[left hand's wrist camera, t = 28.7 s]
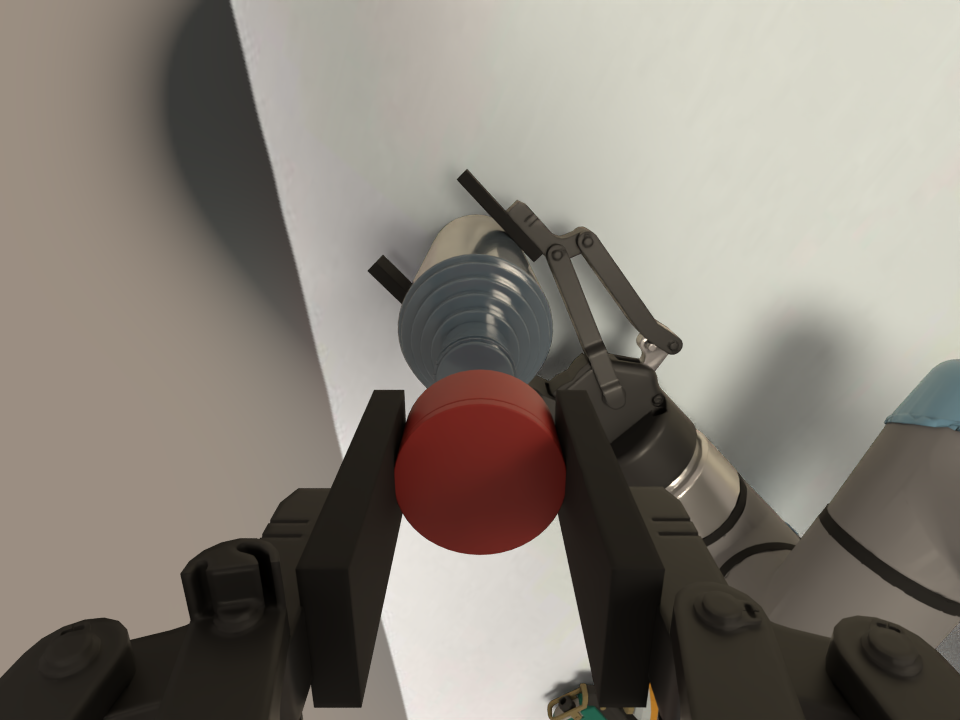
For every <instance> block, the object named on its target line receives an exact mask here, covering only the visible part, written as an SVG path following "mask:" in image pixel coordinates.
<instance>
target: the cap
mask: <svg viewBox="0 0 960 720" xmlns="http://www.w3.org/2000/svg"><path fill="white" fill-rule="evenodd" d="M394 476H395V493H396V500H397V503H398V505H399V507H400V509H401V511H402V513H403V515H404V516H405V518H406V519H407V521H408V522H409V523H410V524H411V525H412V527H413V528H414V529H415V530H416V531H417V532H419V533H420V534H421V535H422V536H424V537H425V538H426V539H428V540H429V541H431V542H433V543H435V544H436V545H438V546H441V547H443V548H446V549H448V550H451V551H455V552H459V553H465V554H473V555H487V554H496V553H502V552H505V551H509V550H512V549H515V548H517V547H520V546H522V545H524V544H526V543H528V542H529V541H531V540H533V539H534V538H535V537H537V536H538V535H539V534H541V533H542V532H543V531H544V530H545V529H546V528H547V527H548V526H549V525H550V523H551V522H552V521H553V520H554V518H555V517H556V515H557V514H558V512H559V510H560V508H561V506H562V503H563V501H564V497H565V482H566V464H565V460H564V457H563V453H562V449H561V446H560V442H559V438H558V435H557V431H556V427H555V424H554V420H553V417H552V414H551V412H550V410H549V408H548V406H547V405H546V403H545V402H544V400H543V399H542V398H541V396H540V395H539V394H538V393H537V392H536V391H535V390H534V389H533V388H531V387H530V386H529V385H528V384H526V383H524V382H523V381H521V380H520V379H518V378H515V377H513V376H511V375H508V374H505V373H502V372H497V371H492V370H468V371H463V372H458V373H455V374H452V375H449V376H447V377H445V378H443V379H441V380H439V381H437V382H436V383H434V384H433V385H431V386H430V387H429V388H428V389H426V390H425V391H424V392H423V393H422V394H421V396H420V397H419V398H418V399H417V401H416V402H415V403H414V405H413V407H412V409H411V411H410V413H409V415H408V418H407V421H406V424H405V428H404V432H403V436H402V439H401V443H400V447H399V450H398V454H397V458H396V461H395V466H394Z"/></svg>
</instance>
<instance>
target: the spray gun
mask: <svg viewBox="0 0 960 720" xmlns="http://www.w3.org/2000/svg"><path fill="white" fill-rule="evenodd" d="M581 692H582V694H581ZM579 693H580V694H579ZM576 694H578V698H577V696H576ZM557 703H559V706H558V707H557V708H556V709H555V711H554V714H553V717H552V707H553V706H554V705H555V704H557ZM547 711H548V717H549V719H550V720H657V715H658V706H657V703H656V700H655V697H654V694H653V691H652V688H651V684H649V691H648V699H647V706H646V708H599V705H598V700H597V696H596V691H595V686H594V685H587V686H586V684H585V683H581V684H580V688H578V689H576V690H574V691H571V692H569V693H567V694H565V695H563V696H561V697H558V698H556V699H554V700H552V701H551V702H550V703H549V704H548V708H547Z"/></svg>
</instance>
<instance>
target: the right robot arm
mask: <svg viewBox="0 0 960 720" xmlns="http://www.w3.org/2000/svg"><path fill="white" fill-rule="evenodd" d="M457 180H458V181H459V183H460V184H461V185H462V186H463V187H464V188H465V189H466V190H467V191H468V192H469V193H470V194H471V195H472V197H473V198H474V199H475V200H476V201H477V202H478V203H479V204H480V205H481V206H482V207H483V208H484V209H485V210H486V212H487V213H488V214H489V215H490V216H491V217H492V218H493V219H494V220H495V221H496V222H497V223H498V224H499V225H500V227H501V228H502V229H503V230H504V231H505V232H506V233H507V234H508V235H509V236H510V237H511V238H512V239H513V241H514V242H515V243H516V244H517V245H518V246H519V247H520V248H521V249H522V250H523V251H524V252H525V253H526V254H527V256H528V257H529V258H530V259H531V260H532V261H533V262H535V261H536V260H537V259H538V258H539V257H540V256H541V255H542V254H544V256H545V257H546V260H547V262H548V265H549V267H550V269H551V272H552V274H553V277H554V279H555V282H556V284H557V287H558V289H559V292H560V294H561V296H562V299H563V301H564V304H565V306H566V309H567V311H568V314H569V316H570V319H571V321H572V323H573V326H574V328H575V331H576V333H577V336H578V339H579V341H580V344H581V346H582V349H583V351H584V353H582V354H581V355H579V356H578V357H577V358H576V359H575V360H574V361H573V362H572V364H571V365H570V367H569V368H568V369H567V370H566V371H564V372H562V373H560V374H558V375H556V376H555V377H554V378H553V379H552V380H550V381H547V380H545V379H543V378H541V377H539V376H535V377H534V378H533V379H532V380H531V381H530V382H529V383H528V385H529V386H530V387H531V388H533V389H534V390H535V391H536V392H537V393H538V394H539V395H540V396H541V398H542V399H543V400H544V402H545V403H546V405H547V406H548V408H549V410H550V412H551V414H552V417H553V420H554V423H555V403H556V390H587V393H588V395H589V397H590V400H591V402H592V404H593V406H594V409H595V411H596V413H597V415H598V418H599V420H600V422H601V425H602V427H603V429H604V431H605V434H606V436H607V438H608V440H609V443H610V445H611V447H612V450H613V452H614V454H615V456H616V459H617V461H618V463H619V465H620V468H621V470H622V472H623V475H624V477H625V479H626V481H627V484H628V486H629V487H663V488H665V489H666V490H667V491H669V492H670V493H671V494H672V495H674V496H675V497H676V498H677V499H679V500H680V501H681V503H682V504H683V506H684V508H685V510H686V511H687V513H688V515H689V517H690V521H692V522H693V524H694V525H695V527H696V529H697V531H698V535H699V536H701V538H702V539H703V541H704V543H705V545H706V546H707V548H708V550H709V552H710V553H711V555H712V557H713V559H714V561H715V562H716V564H717V566H718V568H719V569H720V571H721V573H722V575H723V576H724V578H725V580H726V582H727V583H728V585H729V586H731V587H733V588H735V589H737V590H739V591H741V592H743V593H745V594H747V595H748V596H750V597H751V598H752V599H753V600H754V601H755V602H757V603H758V604H759V605H760V606H761V607H762V609H763V610H764V612H765V613H766V615H767V617H768V618H769V620H770V621H772V622H774V623H776V624H779V625H782V626H786V627H789V628H792V629H796V630H801V631H805V632H809V633H813V634H817V635H821V636H825V637H830V638H831V637H832V633H833V629H834V627H835V626H836V625H837V624H838V622H839V621H840V620H841V619H843V618H847V617H852V616H856V615H859V616H868V617H877V618H880V619H883V620H886V621H889V622H892V623H895V624H898V625H900V626H902V627H904V628H905V629H907V630H909V631H911V632H913V633H915V634H916V635H918V636H920V637H921V638H922V639H923V640H925V641H926V642H927V643H928V644H930V645H931V646H932V647H933V648H934V649H936V648H937V647H938V645H939V644H940V643H941V642H942V641H943V640H944V639H945V638H946V637H947V635H948V634H949V633H950V632H951V631H952V630H953V629H954V628H955V627H956V625H957V624H958V623H959V622H960V359H953V360H948V361H945V362H942V363H940V364H939V365H937V366H936V367H934V368H933V369H932V370H931V371H930V372H929V373H928V374H927V376H926V377H925V378H924V379H923V380H922V381H921V382H920V383H919V384H918V386H917V387H916V388H915V389H914V390H913V391H912V392H911V393H910V395H909V396H908V397H907V398H906V399H905V400H904V401H903V402H902V403H901V405H900V406H899V407H898V408H897V409H896V410H895V411H894V412H893V414H892V415H890V416H889V417H887V418H886V420H885V422H884V424H886V426H885V427H884V428H883V430H882V431H881V433H880V434H879V435H878V437H877V438H876V440H875V441H874V442H873V444H872V445H871V446H870V448H869V449H868V451H867V452H866V453H865V455H864V456H863V458H862V459H861V460H860V462H859V463H858V465H857V466H856V467H855V469H854V470H853V471H852V473H851V474H850V476H849V477H848V478H847V480H846V481H845V483H844V484H843V485H842V487H841V488H840V490H839V491H838V492H837V494H836V495H835V497H834V498H833V499H832V501H831V502H830V503H829V504H827V506H826V507H825V508H824V510H823V511H822V512H821V513H820V514H819V516H818V517H817V518H816V520H815V521H814V522H813V523H812V525H811V526H810V527H809V529H808V530H807V531H806V533H805V534H804V535H803V537H802V538H800V537H799V535H798V533H797V532H796V531H795V530H794V529H793V528H792V527H791V526H790V525H789V524H787V523H786V522H784V521H783V520H782V519H781V518H780V517H779V516H778V514H777V513H776V512H775V511H774V510H773V509H772V508H771V507H770V506H769V505H768V504H767V503H766V502H765V501H764V500H763V499H762V498H761V497H760V496H759V495H758V494H757V493H756V492H755V491H754V490H753V489H752V488H751V487H750V486H749V485H748V484H747V482H746V481H745V480H744V479H743V478H742V477H741V476H740V474H739V473H738V472H737V470H736V469H735V468H734V467H733V466H732V465H731V464H730V463H729V462H728V460H727V459H726V458H725V457H724V456H723V455H722V454H721V453H720V452H719V451H718V450H717V449H716V447H715V446H714V445H713V444H712V443H711V442H710V441H709V440H708V439H707V438H706V437H705V436H704V434H702V433H701V432H700V431H699V430H697V429H696V428H695V426H694V424H693V423H692V422H691V420H690V419H689V418H688V417H687V416H686V415H685V414H684V413H683V412H682V411H681V410H680V409H679V408H678V406H677V405H676V404H675V403H674V402H673V401H672V400H671V399H670V398H669V397H668V396H667V395H666V393H665V392H664V391H663V390H662V389H661V388H660V387H659V384H658V380H657V375H656V373H655V370H656V369H657V368H658V367H659V365H660V364H661V363H662V361H663V360H664V359H665V358H666V356H667V355H668V354H670V355H673V354H677V353H678V352H679V351H681V349H682V346H683V343H682V340H681V339H680V338H679V337H678V336H677V335H675V334H674V333H673V332H672V331H671V330H670V329H669V328H668V327H666V326H665V325H663V324H662V323H660V322H659V321H657V320H655V319H654V318H653V316H652V315H651V313H650V312H649V310H648V309H647V308H646V306H645V305H644V303H643V302H642V300H641V299H640V298H639V296H638V295H637V293H636V292H635V290H634V289H633V287H632V286H631V285H630V283H629V282H628V280H627V279H626V277H625V276H624V275H623V273H622V272H621V270H620V269H619V267H618V266H617V265H616V263H615V262H614V260H613V259H612V257H611V256H610V254H609V253H608V252H607V250H606V249H605V247H604V246H603V244H602V243H601V242H600V240H599V239H598V237H597V236H596V235H595V234H594V233H593V232H592V231H590V230H588V229H587V228H585V227H578V228H576V229H575V230H574V231H572V232H569V233H567V234H565V235H561V236H558V235H554V234H552V233H551V232H550V231H549V229H548V228H547V227H546V226H545V225H544V224H543V223H542V222H541V221H540V219H539V218H538V217H537V216H536V215H535V214H534V213H533V212H532V211H531V210H530V208H529V207H528V206H527V205H526V204H525V203H523V202H520V201H518V200H516V201H515V202H514V203H513V204H512V205H511V206H510V207H509V208H508V209H507V210H506V211H505V210H504V209H503V207H502V206H501V205H500V204H499V203H498V202H497V201H496V200H495V199H494V198H493V197H492V196H491V194H490V193H489V192H488V191H487V190H486V189H485V188H484V187H483V186H482V185H481V184H480V182H479V181H478V180H477V179H476V178H475V177H474V176H473V175H472V174H471V173H470V172H469V171H468V169H467V170H466V171H465V172H464V173H463V174H462V175H461V176H460V177H459V178H458V179H457ZM579 254H582V256H583V257H584V258H585V260H586V261H587V263H588V264H589V266H590V267H591V268H592V270H593V271H594V273H595V274H596V275H597V277H598V278H599V280H600V281H601V282H602V284H603V285H604V287H605V288H606V289H607V291H608V292H609V294H610V295H611V296H612V298H613V299H614V301H615V302H616V303H617V305H618V306H619V308H620V309H621V310H622V312H623V313H624V315H625V316H626V317H627V319H628V320H629V321H630V323H631V324H632V325H633V326H634V327H635V328H636V329H637V330H638V331H639V335H638V336H637V339H636V343H637V345H638V346H639V347H640V349H641V351H642V354H641V357H640V359H637V358H631V357H626V356H620V355H614V354H608V352H607V350H606V347H605V345H604V343H603V341H602V339H601V336H600V334H599V331H598V329H597V326H596V323H595V321H594V318H593V316H592V313H591V311H590V308H589V306H588V303H587V301H586V298H585V295H584V293H583V290H582V288H581V285H580V283H579V280H578V278H577V275H576V273H575V270H574V268H573V265H572V262H571V260H570V258H572V257H574V256H576V255H579ZM368 272H369V273H370V274H371V275H372V276H373V277H374V278H375V279H376V280H377V281H378V282H380V283H381V284H382V285H383V286H384V287H385V288H386V289H387V290H388V291H389V292H390V293H391V294H392V295H393V296H394V297H395V298H396V299H397V300H398V301H399V302H400V303H401V304H402V303H403V301H404V298H405V296H406V294H407V292H408V290H409V288H410V286H411V284H412V283H411V282H410V281H409V280H408V279H407V278H406V277H405V276H404V275H403V274H402V273H401V272H400V271H399V270H398V269H397V268H396V267H395V266H394V265H393V264H392V263H391V262H390V261H389V260H388V259H387V258H386V257H385V256H384V255H382V256H381V257H380V258H379V259H378V260H377V262H376V263H375V264H374V265H373V266H372V267H371V268H370V269H369V270H368ZM584 354H585V355H584ZM425 387H426V386H425ZM426 388H427V387H426ZM427 389H428V388H427Z"/></svg>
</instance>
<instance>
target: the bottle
mask: <svg viewBox="0 0 960 720" xmlns="http://www.w3.org/2000/svg"><path fill="white" fill-rule="evenodd" d="M552 334H553V321H552V315H551V310H550V307H549V304H548V301H547V299H546V297H545V295H544V293H543V291H542V289H541V287H540V284H539V282H538V280H537V278H536V276H535V274H534V272H533V270H532V268H531V266H530V264H529V262H528V260H527V258H526V256H525V254H524V252H523V250H522V249H521V248H520V247H519V246H518V245H517V244H516V243H515V242H514V241H513V239H512V238H511V237H510V236H509V235H508V234H507V233H506V232H505V231H504V230H503V229H502V228H501V227H500V225H499V224H498V223H497V222H496V221H495V220H494V219H493V218H492V217H490V216H486V215H477V214H475V215H467V216H462V217H460V218H457V219H455V220H453V221H451V222H450V223H448V224H447V225H446V226H445V227H444V228H443V229H442V230H441V231H440V232H439V233H438V235H437V236H436V238H435V240H434V242H433V244H432V246H431V247H430V249H429V251H428V253H427V255H426V257H425V259H424V261H423V263H422V265H421V267H420V269H419V271H418V273H417V275H416V277H415V278H414V280H413V282H412V284H411V286H410V288H409V290H408V292H407V294H406V296H405V298H404V301H403V303H402V306H401V310H400V313H399V320H398V336H399V343H400V346H401V350H402V353H403V355H404V358H405V360H406V362H407V364H408V365H409V367H410V369H411V370H412V371H413V373H414V374H415V376H416V377H417V378H418V379H419V380H420V381H421V382H422V383H423V384H424V385H425V386H426V387H427V388H429V387H430V386H431V385H433V384H434V383H436V382H437V381H439V380H441V379H443V378H445V377H447V376H449V375H452V374H455V373H458V372H463V371H468V370H492V371H497V372H502V373H505V374H508V375H511V376H513V377H515V378H518V379H520V380H521V381H523V382H524V383H526V384H528V383H529V382H530V381H531V380H532V379H533V378H534V377H535V375H536V374H537V373H538V371H539V370H540V368H541V367H542V365H543V363H544V362H545V360H546V358H547V355H548V353H549V350H550V346H551V342H552Z"/></svg>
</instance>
